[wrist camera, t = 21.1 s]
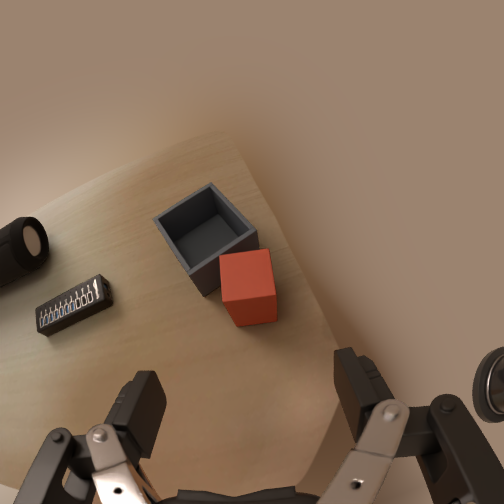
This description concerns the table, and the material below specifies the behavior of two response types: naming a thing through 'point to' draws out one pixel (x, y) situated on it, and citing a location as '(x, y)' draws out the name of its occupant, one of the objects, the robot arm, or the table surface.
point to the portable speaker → (21, 248)
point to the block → (248, 287)
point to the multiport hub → (74, 305)
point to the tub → (205, 234)
